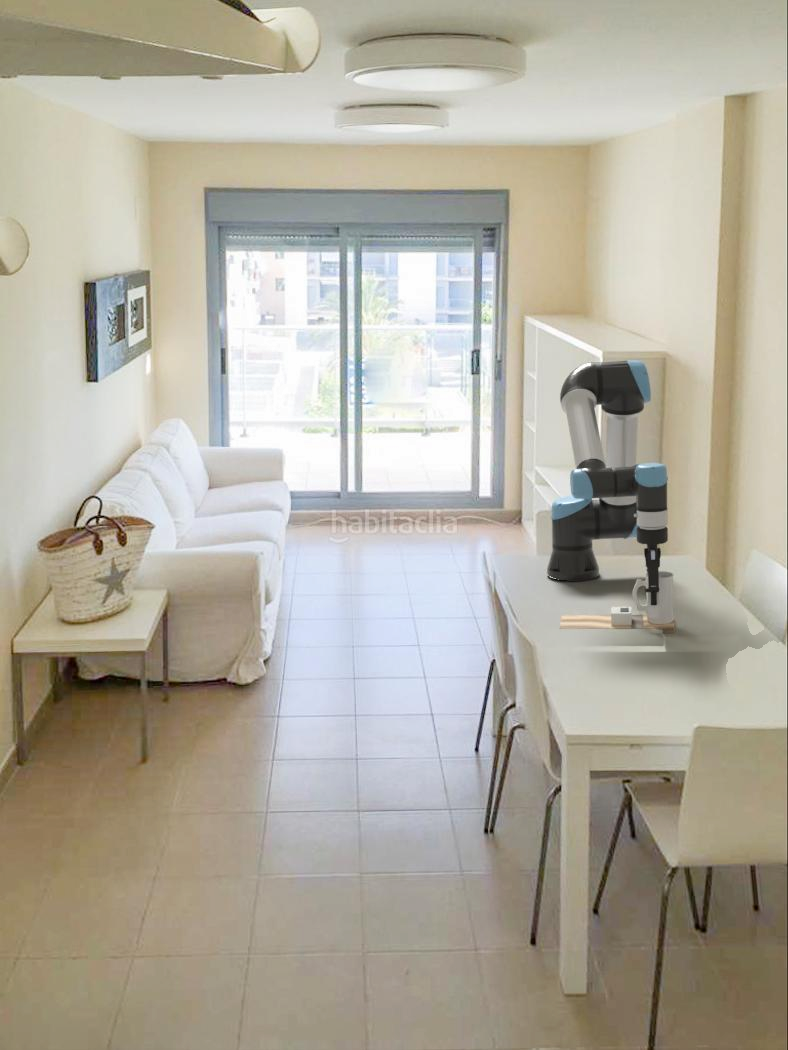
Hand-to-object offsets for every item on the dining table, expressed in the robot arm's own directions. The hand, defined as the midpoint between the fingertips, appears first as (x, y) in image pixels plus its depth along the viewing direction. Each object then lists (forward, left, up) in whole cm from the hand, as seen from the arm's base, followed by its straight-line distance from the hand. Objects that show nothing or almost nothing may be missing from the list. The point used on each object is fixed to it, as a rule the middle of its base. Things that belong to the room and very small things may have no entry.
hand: (653, 609), depth 312 cm
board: (0, -9, -4) cm, 10 cm away
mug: (0, 0, -3) cm, 3 cm away
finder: (0, -8, -3) cm, 8 cm away
